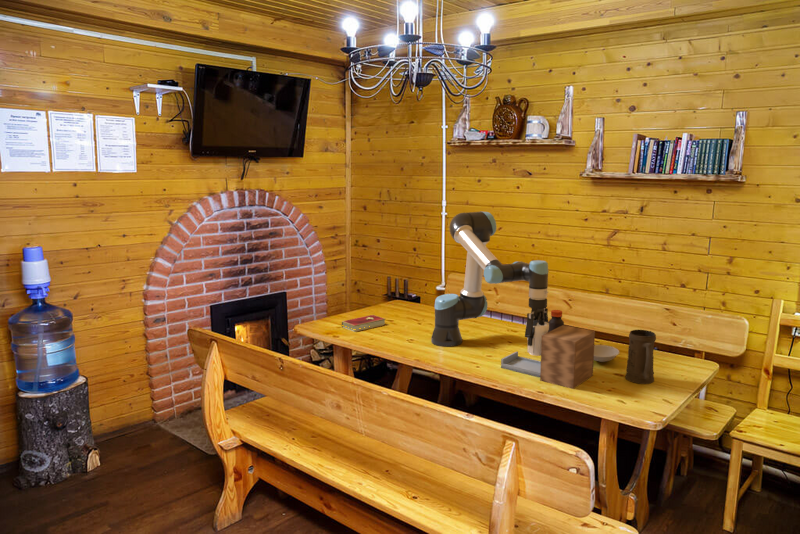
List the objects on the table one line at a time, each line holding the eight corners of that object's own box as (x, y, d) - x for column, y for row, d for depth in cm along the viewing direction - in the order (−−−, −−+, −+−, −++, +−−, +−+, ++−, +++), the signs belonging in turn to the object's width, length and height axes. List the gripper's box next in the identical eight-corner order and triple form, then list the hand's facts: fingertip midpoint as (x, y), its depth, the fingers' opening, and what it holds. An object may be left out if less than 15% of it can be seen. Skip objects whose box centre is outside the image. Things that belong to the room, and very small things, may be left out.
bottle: (554, 356, 263) (556, 313, 260) (544, 352, 269) (545, 310, 266) (565, 353, 266) (567, 311, 263) (555, 349, 272) (557, 308, 269)
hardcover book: (341, 328, 314) (341, 320, 313) (372, 321, 327) (372, 314, 326) (354, 332, 305) (354, 325, 304) (385, 325, 318) (385, 318, 317)
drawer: (501, 367, 249) (501, 358, 248) (516, 360, 259) (516, 351, 258) (543, 378, 236) (544, 369, 235) (557, 369, 246) (558, 360, 245)
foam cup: (548, 357, 238) (549, 326, 236) (525, 356, 240) (526, 326, 238) (547, 350, 248) (548, 321, 245) (525, 349, 249) (526, 320, 247)
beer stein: (619, 374, 240) (623, 328, 235) (644, 373, 241) (649, 327, 236) (637, 390, 225) (642, 342, 220) (664, 389, 226) (669, 341, 221)
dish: (612, 370, 245) (613, 359, 244) (579, 364, 252) (579, 353, 252) (623, 358, 259) (623, 348, 258) (590, 353, 267) (591, 342, 266)
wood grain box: (540, 380, 234) (541, 335, 231) (561, 367, 248) (562, 325, 245) (573, 388, 225) (575, 341, 222) (592, 375, 239) (595, 331, 236)
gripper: (533, 304, 229) (532, 358, 233) (558, 294, 246) (556, 345, 249) (516, 301, 234) (515, 354, 238) (542, 292, 251) (540, 342, 254)
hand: (536, 349), depth 244 cm, fingers closed on foam cup, 9 cm apart
